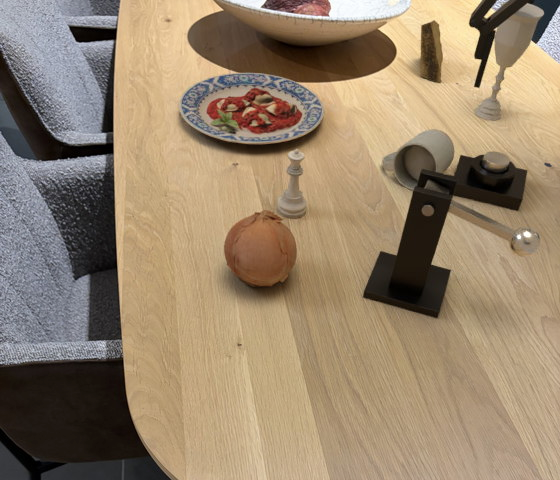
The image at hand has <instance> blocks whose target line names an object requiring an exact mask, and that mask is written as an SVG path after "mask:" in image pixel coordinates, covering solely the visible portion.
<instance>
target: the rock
mask: <svg viewBox="0 0 560 480" xmlns="http://www.w3.org/2000/svg"><path fill="white" fill-rule="evenodd" d="M440 30H441V29H440V23H438V22H437V21H436V20H435V19H434V20H431V21H430V22H427V23H424V24H421V25H420V76H421V77H422V78H425V79H427V80H429V81H432V82H438V83H441V82H442V64H443V61H444V54H443V48H442V47H443V46H442V42H441V31H440Z"/></svg>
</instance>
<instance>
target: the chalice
mask: <svg viewBox="0 0 560 480" xmlns="http://www.w3.org/2000/svg"><path fill="white" fill-rule="evenodd" d="M506 2H507V1H504V2H502V3H500V7H502V6H503V5H504V4H505V3H506ZM544 15H545V12H544V10H543V9H542V8H540V7H539V6H537V5H535V4H531V3H529V2H528V3H527V4H526V5H525V6H523V7H522V8H521V9H520V10H518V11H517V12H516V13H515V14H513V15H512V16H511V17H509V18H508V19H507V20H506V21H504V22H503V23H502V24H501V25H499V26H498V27H497V28H496V33H495V37H494V55H495V63H496V65H497V66H499V71H498V72H497V74H496V75H495V83H494V84H493V85H492V86H491V90H492V91H491V95H490V96H489V97H487V98H484V99H483V100H482V101H481V103H479V104H478V106H477V107H476V108H475V110H474V114H475V115H476V116H477V117H478V118H480V119H482V120H487V121H497V120H500V119H502V109H501V106H502V104H501V103H500V101H499V100H498V98H497V96H498V93H499V92H500V91H502V87H501V84H502V82H503V81H504V80H505V72H506V70H507V69H508V68H512V67H513V66H514V65H515V64H516V63H517V62H518V60H520V58H521V57H522V56H523V55H524V54H525V52H526V50H527V49H528V48H529V47H530V45H531V42H532V40H533V37H534V34H535V31H536V29H537V26H538V22H539V21H540V20H541V18H543V16H544Z"/></svg>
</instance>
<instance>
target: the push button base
mask: <svg viewBox="0 0 560 480" xmlns="http://www.w3.org/2000/svg"><path fill="white" fill-rule="evenodd" d="M484 155H485V154H479V155H477V156H475V157H472V156H468V155H463V154H460V156H459V158H458V162H457V164H456V168H455V171H454V174H453V176H455V177H458V181H457V185H456V188H455V191H454V194H453V197H457V198H462V199H466V200H470V201H475V202H479V203H482V204H487V205H491V206H495V207H499V208H504V209H508V210H512V211H515V212H518V211H519V210H520V206H521V205H522V202H523V199H524V195H525V194H524V193H525V188H526V183H527V182H526V181H527V176H528V170H527V169H524V168H519V167H517V166H516V165H515V164H514V163H513V162H512V161H511V160H510V162H509V165H508V167H507V170H506V172H505V173H504V174H493V173H489V172H487V171H485V170H483V169H482V168H481V163H482V160H483V157H484Z"/></svg>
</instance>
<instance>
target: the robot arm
mask: <svg viewBox="0 0 560 480" xmlns="http://www.w3.org/2000/svg"><path fill="white" fill-rule="evenodd" d="M531 1H532V0H507V1H505V2H506V3H505V4H504V5H503V6H502V7H501V6H500V7H499V8H498V9H497V10H495V11H494V12H493V13H492V14H490V15H489V16H488V17H486V15H487V14H488V13H489V11H490V10H492V8H493V6H494V5H495V4H497V2H498V0H481V1H480V2H479V4H477V6H476V8H474V9H473V11H472V12H471V14H470V17H469V20H468V26H469V27H470V28H474V29H475V30H477V31H478V33H479V36H478V40H477V43H476V47H475V51H474V54H473V55H474V56H473V57H474V60H479V61H480V63H479V67H478V70H477V74H476V77H475V80H474V85H473V88H477V89H480V87H481V84H482V80H483V77H484V74H485V71H486V67H487V64H488V61H489V60H488V59H489V57H490V55H491V51H492V48H493V44H494V42H495V34H496V31H497V27H498V26H499V25H501V24H502V23H503V22H504V21H506V20H507V19H508V18H509V17H511V16H512V15H513V14H515V13H516V12H517V11H518V10H520V9H521V8H522V7H523V6H525V5H526V4H527V3H528V4H529V3H530V2H531Z"/></svg>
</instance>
